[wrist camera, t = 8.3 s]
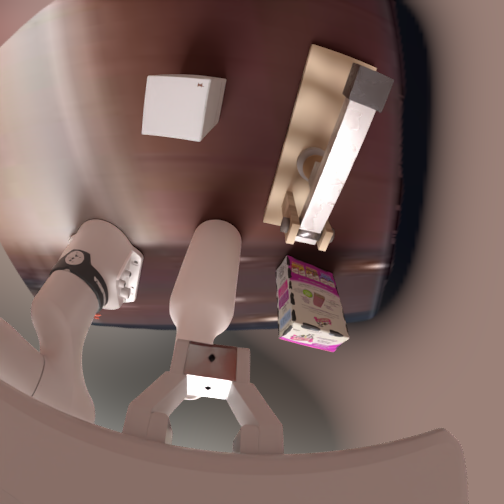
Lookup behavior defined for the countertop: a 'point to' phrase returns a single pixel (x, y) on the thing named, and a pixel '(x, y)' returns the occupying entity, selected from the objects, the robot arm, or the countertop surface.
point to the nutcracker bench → (308, 139)
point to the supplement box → (182, 105)
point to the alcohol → (207, 284)
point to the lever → (342, 148)
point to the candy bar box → (309, 306)
